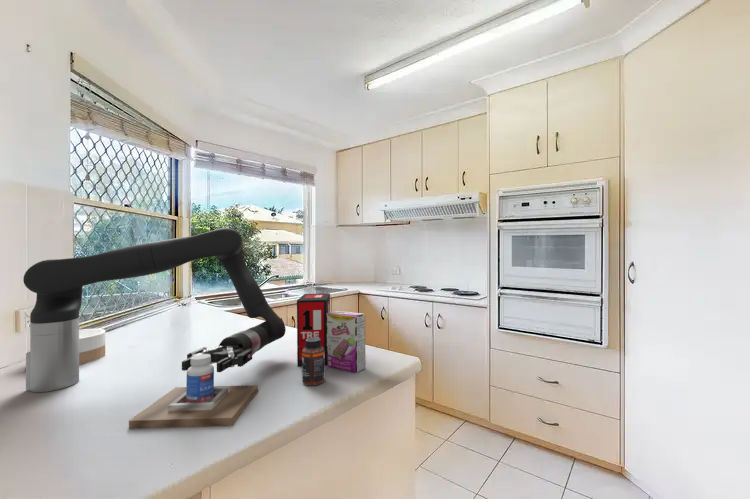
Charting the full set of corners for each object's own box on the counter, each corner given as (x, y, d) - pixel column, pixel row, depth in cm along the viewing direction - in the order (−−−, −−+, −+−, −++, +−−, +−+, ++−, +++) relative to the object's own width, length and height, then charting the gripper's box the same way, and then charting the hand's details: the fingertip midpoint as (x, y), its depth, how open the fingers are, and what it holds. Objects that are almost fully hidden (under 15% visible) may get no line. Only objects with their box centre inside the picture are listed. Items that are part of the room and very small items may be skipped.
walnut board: (128, 428, 64) (128, 414, 64) (175, 393, 80) (175, 382, 80) (232, 425, 64) (232, 411, 65) (258, 391, 80) (257, 380, 81)
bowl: (97, 349, 119) (96, 326, 119) (112, 357, 109) (112, 332, 109) (28, 362, 105) (29, 336, 105) (39, 373, 95) (39, 344, 95)
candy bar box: (325, 367, 97) (325, 312, 97) (336, 362, 101) (335, 309, 101) (356, 374, 91) (356, 315, 91) (366, 368, 95) (365, 313, 96)
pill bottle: (202, 407, 69) (201, 361, 69) (180, 405, 70) (180, 359, 70) (219, 396, 74) (219, 353, 75) (199, 394, 76) (198, 352, 76)
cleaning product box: (327, 365, 98) (326, 299, 99) (297, 366, 98) (296, 300, 98) (330, 349, 115) (329, 293, 115) (305, 350, 114) (304, 293, 115)
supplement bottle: (329, 379, 87) (329, 337, 88) (316, 388, 82) (316, 343, 82) (311, 376, 90) (310, 335, 90) (297, 384, 85) (297, 340, 85)
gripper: (216, 331, 89) (171, 349, 73) (265, 333, 87) (230, 351, 71) (216, 359, 89) (171, 382, 73) (265, 361, 87) (230, 385, 71)
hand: (200, 367), depth 72 cm, fingers open, 8 cm apart
